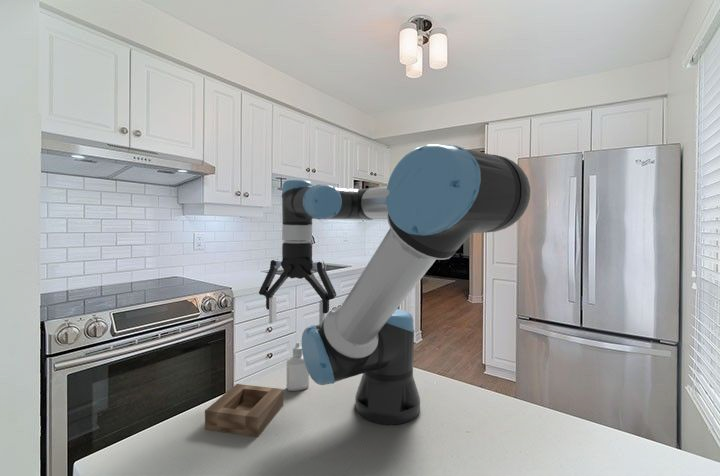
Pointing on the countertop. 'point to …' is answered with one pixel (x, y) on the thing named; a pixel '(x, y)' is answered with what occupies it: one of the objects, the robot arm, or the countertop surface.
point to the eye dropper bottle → (297, 371)
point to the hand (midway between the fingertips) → (297, 323)
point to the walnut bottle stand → (244, 410)
